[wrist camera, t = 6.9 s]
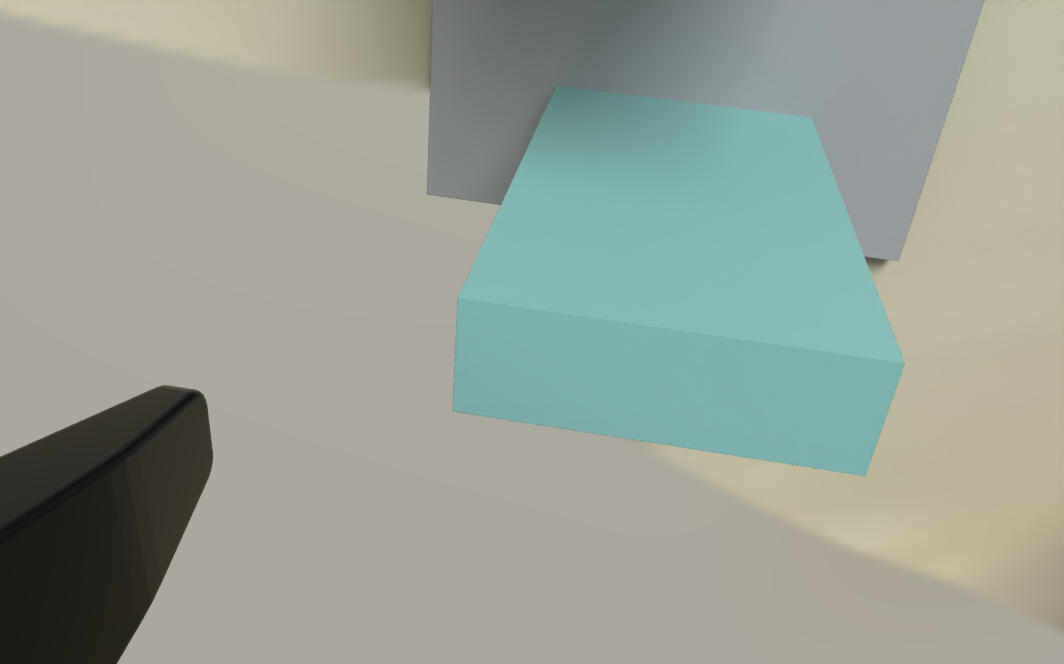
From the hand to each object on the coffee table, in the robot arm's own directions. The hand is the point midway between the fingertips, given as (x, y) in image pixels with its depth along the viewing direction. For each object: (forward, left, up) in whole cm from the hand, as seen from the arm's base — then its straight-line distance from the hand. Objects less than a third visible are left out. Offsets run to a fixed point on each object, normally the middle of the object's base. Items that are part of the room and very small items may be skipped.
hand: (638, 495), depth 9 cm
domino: (0, 0, -11) cm, 11 cm away
